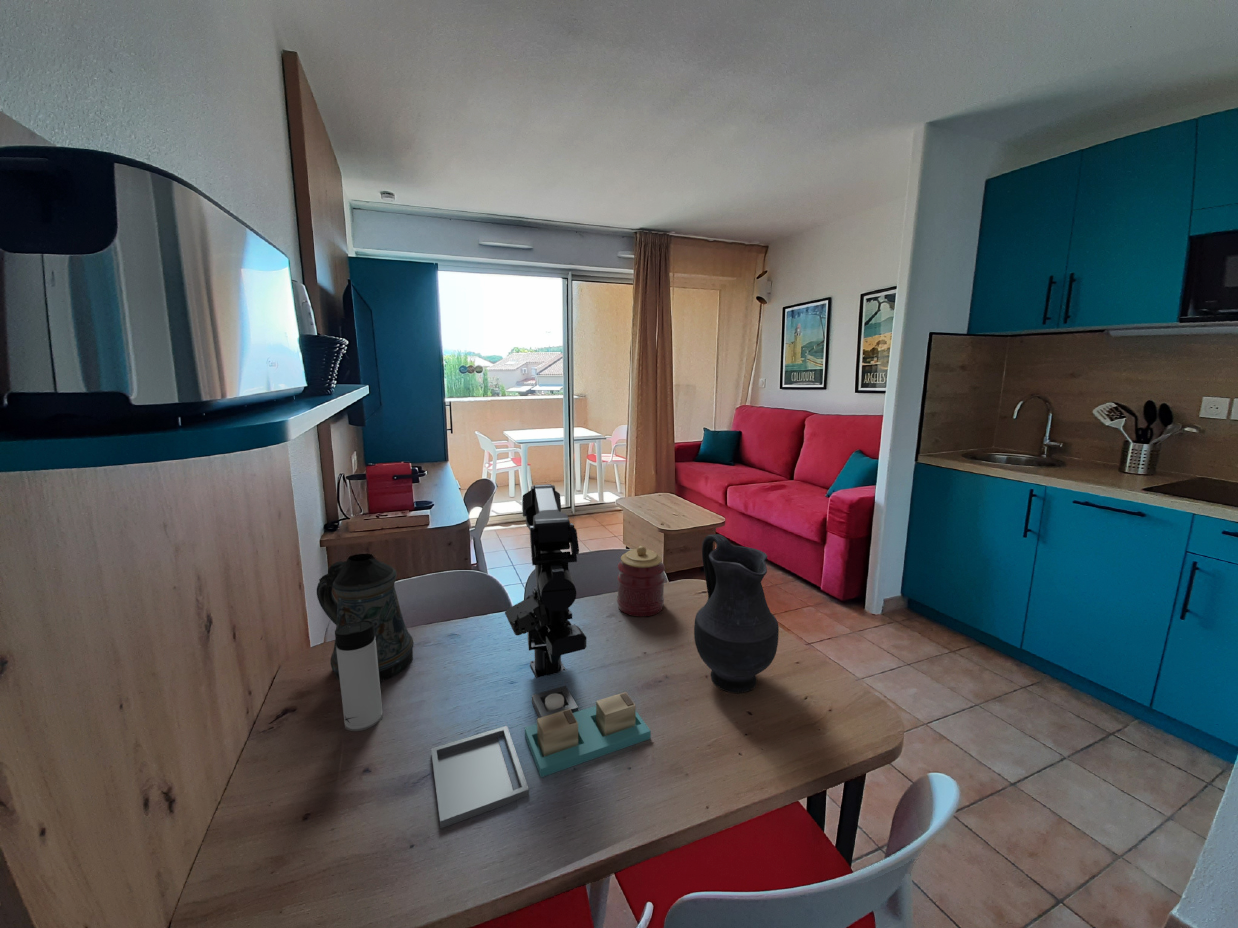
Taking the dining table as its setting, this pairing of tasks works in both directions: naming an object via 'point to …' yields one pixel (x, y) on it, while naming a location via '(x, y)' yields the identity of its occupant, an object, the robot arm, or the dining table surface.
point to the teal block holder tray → (585, 742)
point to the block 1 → (557, 732)
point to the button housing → (541, 711)
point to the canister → (640, 582)
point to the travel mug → (359, 675)
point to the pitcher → (735, 616)
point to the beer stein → (368, 609)
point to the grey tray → (474, 776)
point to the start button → (554, 702)
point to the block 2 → (615, 714)
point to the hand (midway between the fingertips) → (554, 662)
